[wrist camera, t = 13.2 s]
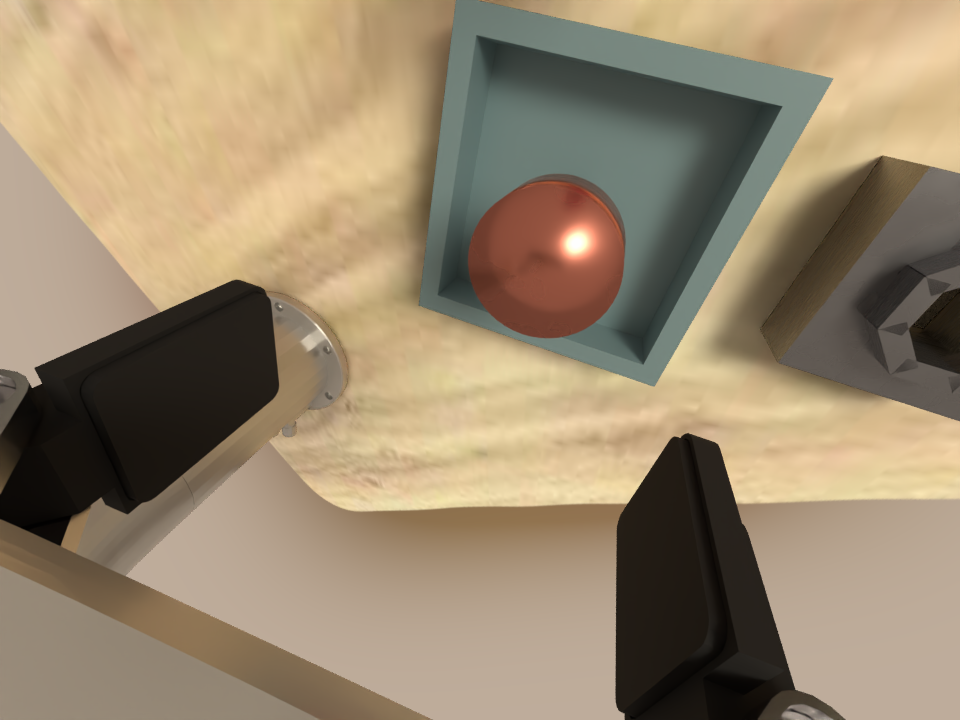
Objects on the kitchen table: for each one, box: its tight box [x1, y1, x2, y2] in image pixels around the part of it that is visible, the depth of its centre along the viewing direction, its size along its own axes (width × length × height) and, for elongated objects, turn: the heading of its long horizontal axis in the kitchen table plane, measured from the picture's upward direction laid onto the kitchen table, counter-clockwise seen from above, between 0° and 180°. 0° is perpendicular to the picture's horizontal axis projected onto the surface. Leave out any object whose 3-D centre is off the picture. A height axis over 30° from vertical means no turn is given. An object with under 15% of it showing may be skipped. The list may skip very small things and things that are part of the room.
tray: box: [419, 0, 834, 386], centre depth 23 cm, size 16×16×4 cm
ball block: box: [760, 156, 960, 421], centre depth 20 cm, size 10×10×6 cm
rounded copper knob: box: [468, 173, 626, 338], centre depth 20 cm, size 6×6×11 cm
